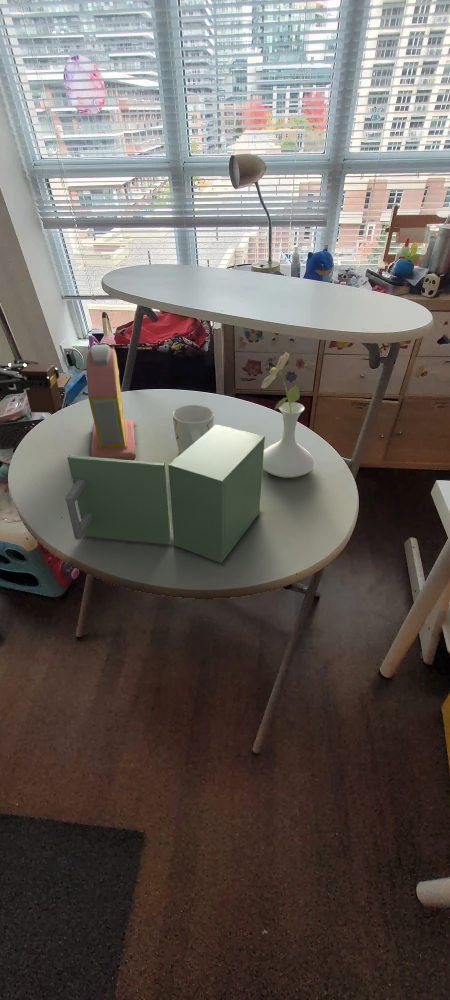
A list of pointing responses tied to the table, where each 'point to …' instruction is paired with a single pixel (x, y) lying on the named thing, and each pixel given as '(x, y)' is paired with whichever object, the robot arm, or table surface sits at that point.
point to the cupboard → (216, 490)
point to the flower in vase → (286, 433)
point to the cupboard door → (119, 499)
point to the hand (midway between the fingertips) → (53, 377)
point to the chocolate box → (43, 389)
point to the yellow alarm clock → (108, 407)
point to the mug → (191, 424)
